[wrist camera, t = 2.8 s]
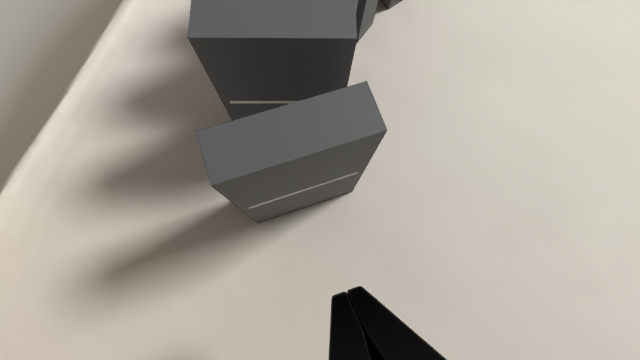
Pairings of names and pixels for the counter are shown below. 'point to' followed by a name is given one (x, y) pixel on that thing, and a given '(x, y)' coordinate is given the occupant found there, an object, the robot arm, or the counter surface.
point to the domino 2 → (294, 152)
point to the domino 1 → (273, 49)
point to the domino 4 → (390, 3)
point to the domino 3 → (365, 16)
